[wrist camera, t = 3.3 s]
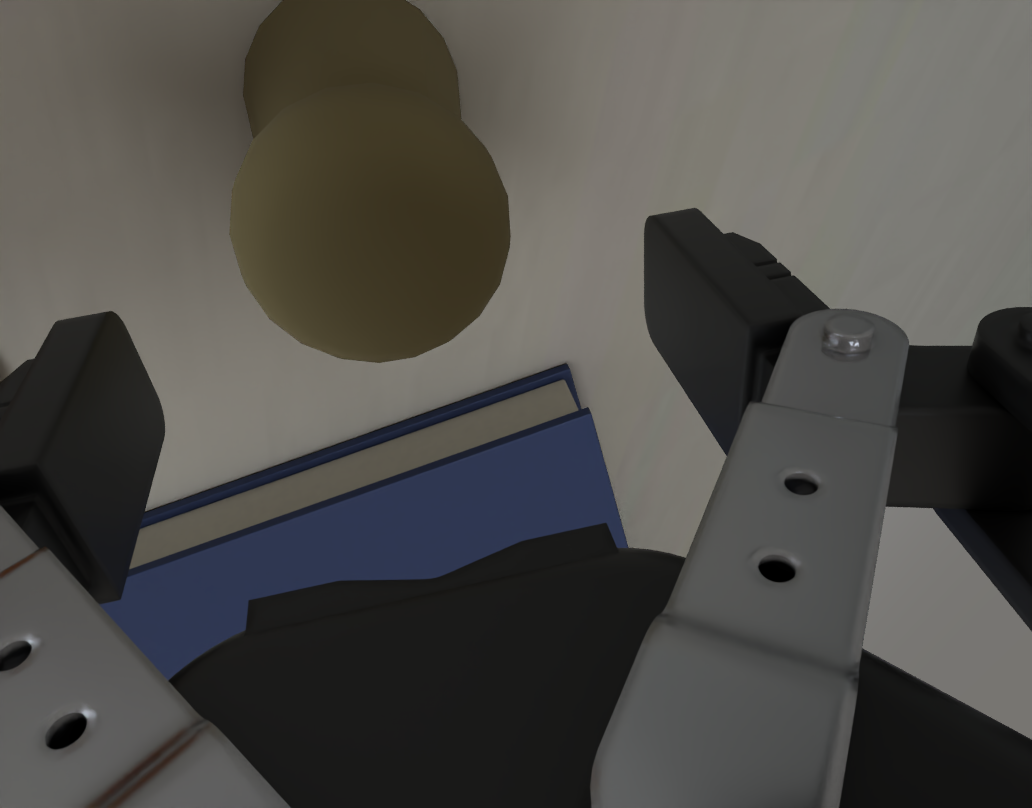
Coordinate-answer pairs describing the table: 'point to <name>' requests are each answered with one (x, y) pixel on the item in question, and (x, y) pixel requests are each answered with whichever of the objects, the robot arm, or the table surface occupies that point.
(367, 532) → the book
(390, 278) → the cork
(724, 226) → the table surface
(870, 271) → the table surface
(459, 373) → the table surface
